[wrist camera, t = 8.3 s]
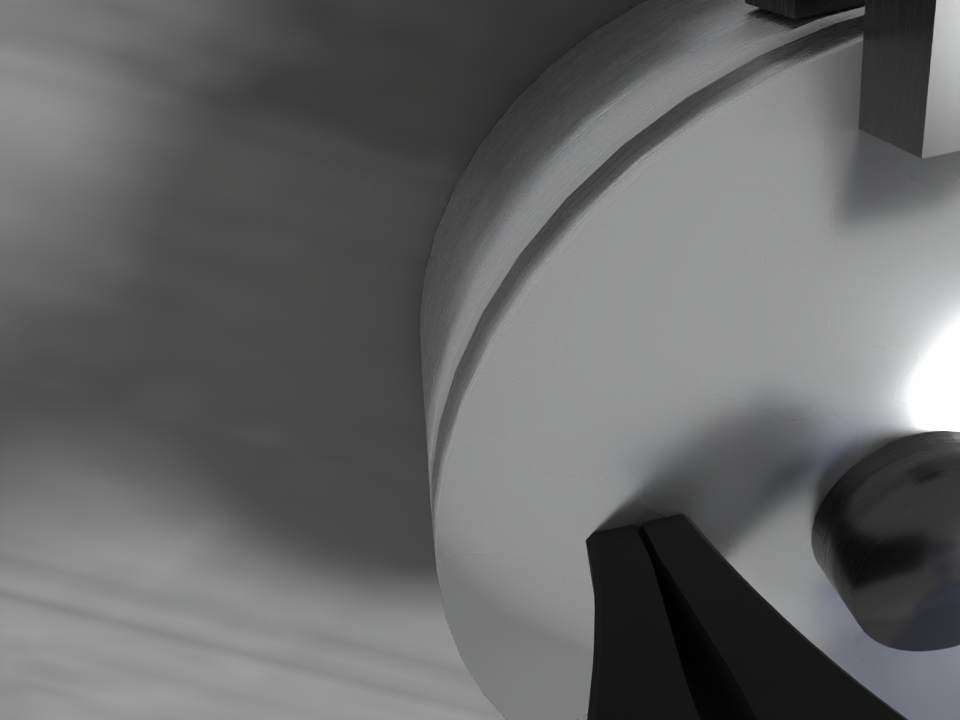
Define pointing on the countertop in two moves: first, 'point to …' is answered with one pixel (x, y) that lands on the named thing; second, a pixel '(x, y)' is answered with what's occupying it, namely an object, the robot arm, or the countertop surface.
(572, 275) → the lid
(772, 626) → the robot arm
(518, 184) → the pot
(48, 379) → the countertop surface
